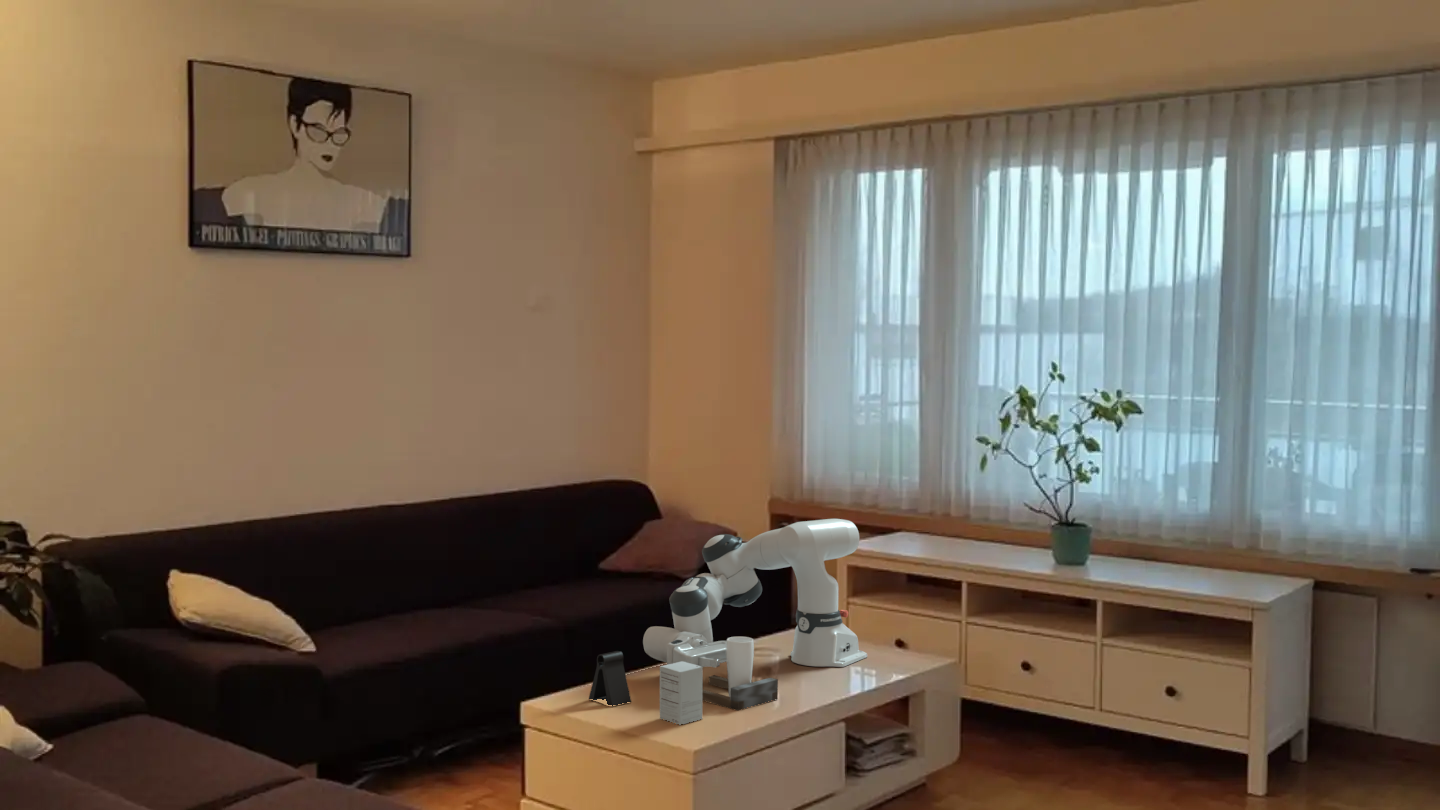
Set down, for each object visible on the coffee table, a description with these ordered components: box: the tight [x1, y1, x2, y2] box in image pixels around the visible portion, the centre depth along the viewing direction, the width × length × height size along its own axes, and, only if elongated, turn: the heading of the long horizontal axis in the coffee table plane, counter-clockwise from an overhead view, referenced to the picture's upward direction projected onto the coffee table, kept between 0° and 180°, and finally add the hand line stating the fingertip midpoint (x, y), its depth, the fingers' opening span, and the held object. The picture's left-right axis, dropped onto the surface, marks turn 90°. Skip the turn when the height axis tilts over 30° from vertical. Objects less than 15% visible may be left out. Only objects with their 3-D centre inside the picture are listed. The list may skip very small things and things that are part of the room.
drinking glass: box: [726, 636, 755, 697], centre depth 333 cm, size 7×7×15 cm
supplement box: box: [659, 661, 704, 726], centre depth 316 cm, size 7×7×13 cm
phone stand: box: [588, 650, 632, 706], centre depth 330 cm, size 9×6×12 cm, turn 44°
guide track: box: [702, 674, 779, 711], centre depth 336 cm, size 14×22×5 cm, turn 45°
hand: (731, 660), depth 334 cm, fingers open, 8 cm apart
